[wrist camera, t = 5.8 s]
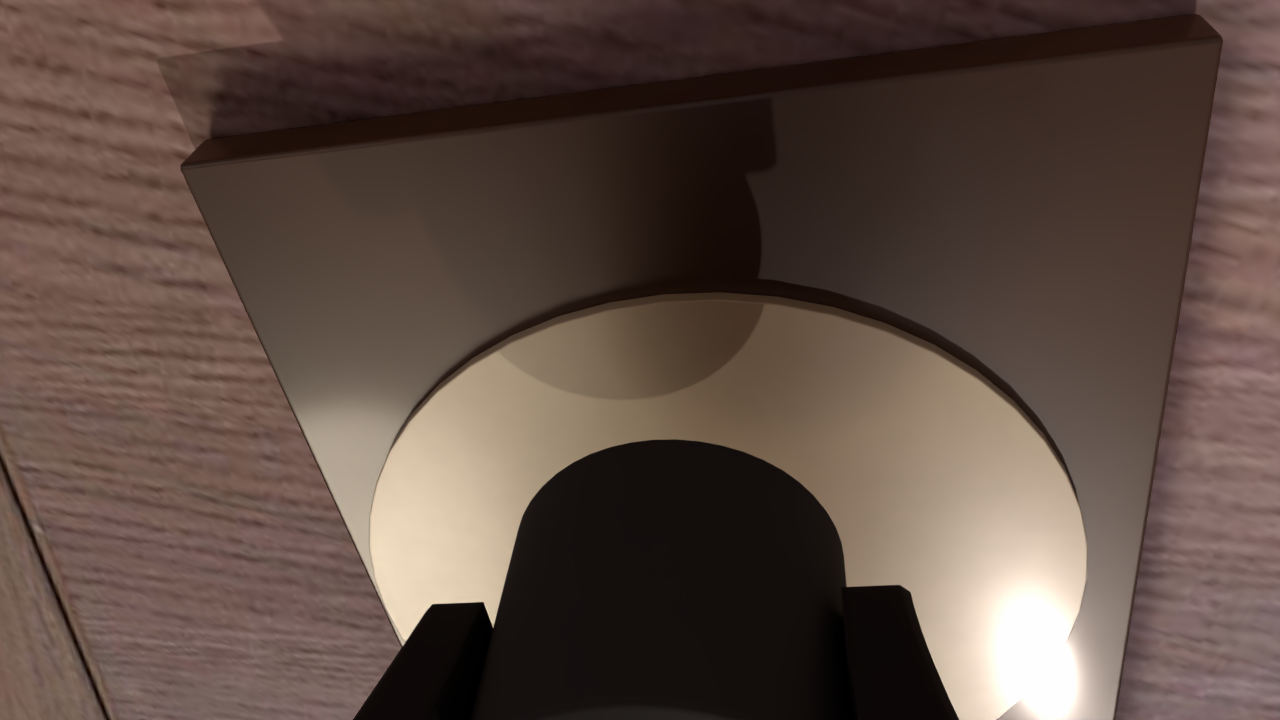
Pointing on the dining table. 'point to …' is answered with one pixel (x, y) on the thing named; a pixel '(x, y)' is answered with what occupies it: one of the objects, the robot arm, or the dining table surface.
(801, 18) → the dining table surface
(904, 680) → the robot arm
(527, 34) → the dining table surface
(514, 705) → the dot
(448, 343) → the board
